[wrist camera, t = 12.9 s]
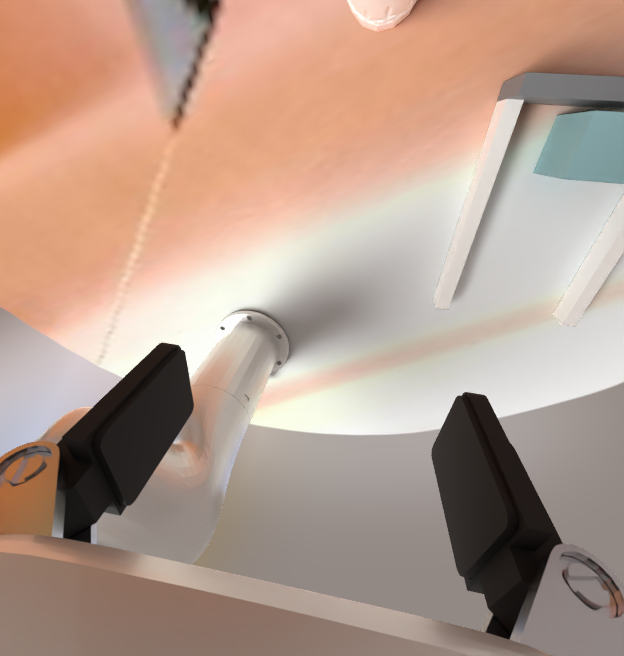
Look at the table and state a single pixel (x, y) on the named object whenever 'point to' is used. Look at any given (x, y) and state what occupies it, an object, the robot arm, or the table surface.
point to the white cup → (380, 12)
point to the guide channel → (526, 88)
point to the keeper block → (585, 147)
